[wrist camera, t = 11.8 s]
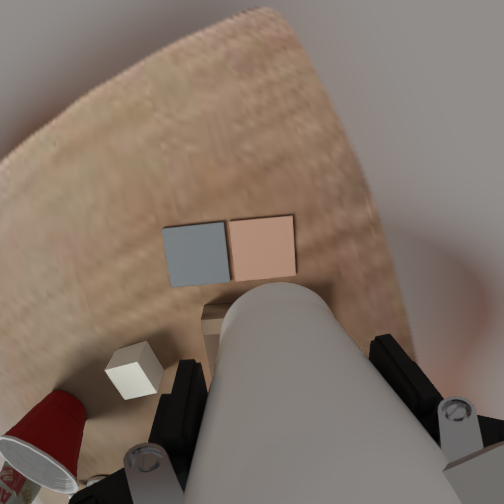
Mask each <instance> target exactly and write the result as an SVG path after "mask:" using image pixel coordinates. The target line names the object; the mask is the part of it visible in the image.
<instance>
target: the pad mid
mask: <svg viewBox="0 0 504 504" xmlns="http://www.w3.org/2000/svg"><path fill="white" fill-rule="evenodd" d="M162 234H163V240H164V247H165V253H166V259H167V265H168V271H169V277H170V282H171V287H179V286H191V285H203V284H214V283H225V282H230V275H229V266H228V257H227V248H226V239H225V230H224V222H217V223H207V224H198V225H188V226H179V227H170V228H162Z"/></svg>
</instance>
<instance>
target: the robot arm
mask: <svg viewBox="0 0 504 504" xmlns="http://www.w3.org/2000/svg"><path fill="white" fill-rule="evenodd" d="M369 360H370V361H371V363H372V364H373V365H374V366H375V368H376V369H377V370H378V371H379V372H380V374H381V375H382V376H383V377H384V379H385V380H386V381H387V382H388V384H389V385H390V386H391V387H392V388H393V390H394V391H395V392H396V393H397V395H398V396H399V397H400V398H401V399H402V401H403V402H404V403H405V404H406V406H407V407H408V408H409V409H410V411H411V412H412V413H413V414H414V415H415V417H416V418H417V419H418V420H419V422H420V423H421V424H422V425H423V427H424V428H425V429H426V430H427V432H428V433H429V434H430V435H431V437H432V438H433V439H434V441H435V442H436V443H437V444H438V446H439V447H440V448H441V450H442V451H443V452H444V454H445V455H446V456H447V457H448V459H449V460H450V463H448V464H447V466H446V467H445V469H444V470H443V471H442V472H443V474H444V475H445V477H446V478H447V480H448V482H449V483H450V485H451V486H452V488H453V489H454V491H455V493H456V494H457V496H458V498H459V500H460V501H461V503H462V504H504V420H499V419H494V418H489V417H485V416H480V415H477V414H476V409H475V407H474V405H473V404H472V403H471V402H470V401H469V400H467V399H466V398H463V397H456V396H454V397H448V398H446V399H444V398H443V397H442V396H441V394H440V393H439V392H438V391H437V389H436V388H435V387H434V385H433V384H432V383H431V382H430V380H429V379H428V378H427V376H426V375H425V374H424V373H423V371H422V370H421V369H420V368H419V366H418V365H417V364H416V363H415V362H414V361H412V360H411V359H410V358H409V357H408V355H407V354H406V353H405V352H404V350H403V349H402V348H401V347H400V345H399V344H398V343H397V342H396V340H395V339H394V338H393V337H392V336H391V335H390V334H385V335H380V336H376V337H375V339H374V340H373V341H371V344H370V353H369ZM207 396H208V392H207V387H206V383H205V379H204V374H203V369H202V365H201V363H196V361H195V359H188V360H180V361H179V364H178V368H177V372H176V376H175V380H174V384H173V388H172V392H171V394H162V395H161V397H160V400H159V404H158V407H157V411H156V414H155V418H154V422H153V425H152V429H151V433H150V437H149V440H148V443H141V444H138V445H135V446H133V447H132V448H130V449H129V450H128V451H127V452H126V454H125V456H124V459H123V462H124V468H122V469H120V470H118V471H117V472H115V473H113V474H111V475H109V476H107V477H105V476H96V477H92V478H90V479H89V480H88V482H87V485H86V488H84V489H82V490H80V491H78V492H76V493H71V494H68V498H69V499H70V501H69V503H68V504H182V501H183V497H184V491H185V487H186V483H187V479H188V475H189V470H190V466H191V462H192V458H193V454H194V450H195V446H196V442H197V437H198V433H199V429H200V425H201V421H202V417H203V413H204V409H205V404H206V400H207Z"/></svg>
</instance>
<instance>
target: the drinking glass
mask: <svg viewBox="0 0 504 504" xmlns="http://www.w3.org/2000/svg"><path fill="white" fill-rule="evenodd" d="M448 463H450V460H449V459H448V457H447V456H446V455H445V454H444V452H443V451H442V450H441V448H440V447H439V446H438V444H437V443H436V442H435V441H434V439H433V438H432V437H431V435H430V434H429V433H428V432H427V430H426V429H425V428H424V427H423V425H422V424H421V423H420V422H419V420H418V419H417V418H416V417H415V415H414V414H413V413H412V412H411V411H410V409H409V408H408V407H407V406H406V404H405V403H404V402H403V401H402V399H401V398H400V397H399V396H398V395H397V393H396V392H395V391H394V390H393V388H392V387H391V386H390V385H389V384H388V382H387V381H386V380H385V379H384V377H383V376H382V375H381V374H380V372H379V371H378V370H377V369H376V368H375V366H374V365H373V364H372V363H371V361H370V360H369V359H368V358H367V357H366V355H365V354H364V353H363V352H362V350H361V349H360V348H359V347H358V346H357V344H356V343H355V342H354V341H353V339H352V338H351V337H350V336H349V334H348V333H347V332H346V331H345V329H344V328H343V327H342V326H341V324H340V323H339V322H338V321H337V319H336V318H335V316H334V314H333V313H332V311H331V309H330V308H329V306H328V305H327V304H326V302H325V301H324V300H323V299H322V298H321V297H320V296H319V295H318V294H316V293H315V292H314V291H312V290H310V289H308V288H306V287H304V286H301V285H298V284H294V283H287V282H275V283H268V284H264V285H261V286H258V287H256V288H253V289H251V290H249V291H248V292H246V293H245V294H243V295H242V296H241V297H239V298H238V299H237V300H236V301H235V302H234V303H233V304H232V306H231V307H230V308H229V310H228V311H227V313H226V315H225V317H224V320H223V322H222V326H221V331H220V339H219V349H218V353H217V358H216V362H215V367H214V371H213V375H212V379H211V384H210V388H209V392H208V396H207V400H206V404H205V409H204V413H203V417H202V421H201V425H200V429H199V433H198V437H197V442H196V446H195V450H194V454H193V458H192V462H191V466H190V470H189V475H188V479H187V483H186V487H185V491H184V497H183V501H182V504H462V503H461V501H460V500H459V498H458V496H457V494H456V493H455V491H454V489H453V488H452V486H451V485H450V483H449V482H448V480H447V478H446V477H445V475H444V474H443V472H442V471H443V470H444V469H445V467H446V466H447V464H448Z"/></svg>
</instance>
